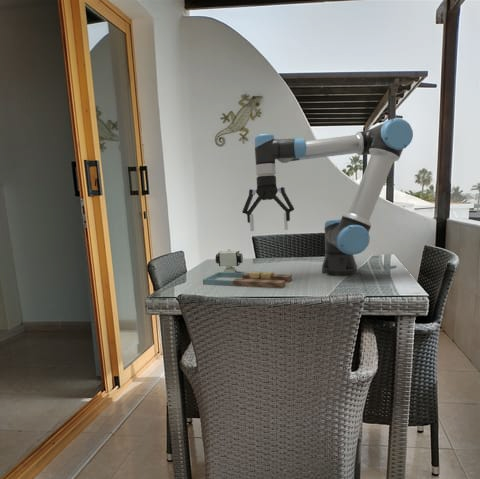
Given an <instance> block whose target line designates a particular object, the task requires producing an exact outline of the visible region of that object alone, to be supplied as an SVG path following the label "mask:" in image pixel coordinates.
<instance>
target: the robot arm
mask: <svg viewBox="0 0 480 479" xmlns="http://www.w3.org/2000/svg"><path fill="white" fill-rule="evenodd" d="M413 137H414V131H413V128H412V126H411V124H410V123H409V122H408V121H407V120H404V119H403V118H397V117H395V118H392V119H387V120H386V121H384V122H383V123H381V124H379V125H377V126H374V127H372V128H369V129H367V130H363V131H357V132H356V133H355V134H351V135H345V136H336V137H335V136H334V137H329V138H319V139H312V140H306V139H305V138H302V137H300V138H299V137H295V138H281V139H277V138H275V135H274V134H272V133H261V134H256V136H254V152H255V153H254V156H255V157H254V158H255V159H254V160H255V168H256V169H255V172H256V174H255V175H256V176H257V177H256V189H253V188H252V189H248V190H249V191H248V197H247V199H246V202H245V204H244V206H243V209H242V211H241V212H242V214H244V215H245V214H246V216H247V217H246V218H247V223H249V225H250V226H249V227H250V229H249V231H250V232H253V231H255V225H254V224H255V223H254V214H252V213H253V212H254V210H255V209H256V207H257V206H258V205H259V204H260V202H261V201H266V200H268V201H269V200H274V201H275V202H276V203H277V204H278V206H280V207H281V208H282V210H284V213H283V220H284V221H283V223H284V224H283V225H284V231H287V230H288V229H289V228H288V226H289V225H288V222H289V221H291V217H290V215H291V212H293V211H295V207H294V205H293V204H292V201H291V199H289V197H288V194H287V193H286V188H285V187H284V186H281V187H277V176H276V174H277V171H276V169H277V168H276V160H277V161H278V162H279V163H282V164H287V163H291V162H296V161H303V160H313V159H319V158H328V157H337V156H343V155H351V154H356V155H357V156H364V155H370V157H369V160H368V163H367V166H366V168H365V170H364V172H363V174H362V177H361V179H360V182H359V185H358V188H357V189H356V192H355V195H354V197H353V198H352V199H353V200H352V201H351V204H350V207H349V209H348V212H347V213H346V214H343V215H342V216H341V219H332V220H330V219H329V220H326V221H325V222H324V228H323V229H324V246H325V247H324V248H325V250H324V251H325V254H324V259H323V262H322V265H321V273H322V274H325V275H328V276H352V275H355V274H358V265H357V263H356V259H355V257H354V255H359V254H361V253H362V252H364V251H366V249H367V248H368V246H369V244H370V241H371V240H370V238H371V237H370V236H371V235H370V234H369V233H370V230H371V227H372V224H371V222H370V220H371V217H372V214H373V213H374V209H375V207H376V205H377V203H378V200H379V198H380V195H381V192H382V190H383V189H384V185H385V182H386V180H387V178H388V176H389V173H390V171H391V168H392V166H393V165H394V164H393V163H394V162H398V161H399V160H400V158H401V155H402V153H403V150H404V149H406V148H407V147H408V146H409V145H410V144H411V143H412V141H413ZM278 192H279V194H281V196H282V197H283V199H284V201H285V203H286V204H285V203H284V202H283V201H282V200H281V199H279V197H278V195H277V193H278ZM256 194H257V195H258V196H257V198H256V199H255V200H254V202H253V203H252V200H253V198H254V196H255V195H256ZM251 203H252V205H251ZM250 205H251V206H250ZM286 205H287V206H286Z"/></svg>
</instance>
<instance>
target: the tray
mask: <svg viewBox="0 0 480 479" xmlns="http://www.w3.org/2000/svg"><path fill="white" fill-rule="evenodd" d="M245 273H246V272H236V273H228V272H224V271H223V272H220V271H218V272H215V273H214V274H211V275H210V276H207V277H205V278H203V279H202V284H203V286H204V285H205V286H224V287H225V286H226V287H227V286H229V287H234V286H233V284H232V281H233V280H234V279H236V278H237V279H242V275H243V274H245ZM219 278H229V279H230V278H233V280H232V279H231V280H229V279H228V280H227V279H219Z"/></svg>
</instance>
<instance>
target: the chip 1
mask: <svg viewBox="0 0 480 479" xmlns="http://www.w3.org/2000/svg"><path fill="white" fill-rule="evenodd" d="M263 272H264V271H255V270H253V271H251V272H249V273H250V279H261V273H263Z"/></svg>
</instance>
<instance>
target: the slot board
mask: <svg viewBox="0 0 480 479" xmlns="http://www.w3.org/2000/svg"><path fill="white" fill-rule="evenodd" d="M244 273H245V274H243V275H242V278H234V279H233V281H232V284H233V286H232V287H244V288H245V287H247V288H248V287H249V288H264V289H265V288H267V289H284V288H285V287H286V285H288V284H289V283H290V282H291V281H292V279H293V278H292V276H293V275H292V274H285V273H284V274H281V273H274V280H261V279H250V273H251V272H249V273H248V272H244Z"/></svg>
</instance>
